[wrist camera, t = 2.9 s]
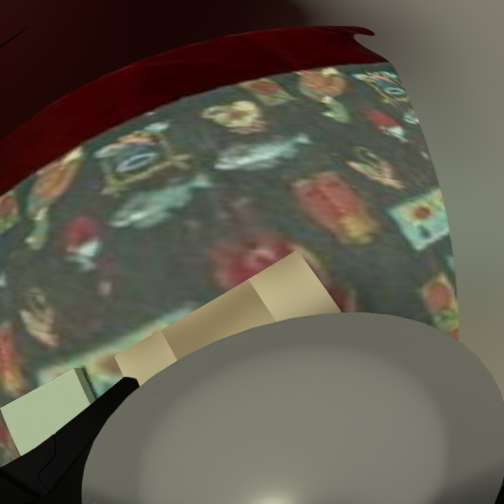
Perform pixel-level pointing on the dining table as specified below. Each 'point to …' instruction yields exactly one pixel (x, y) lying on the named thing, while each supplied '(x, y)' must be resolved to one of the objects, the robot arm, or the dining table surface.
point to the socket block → (232, 316)
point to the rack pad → (47, 409)
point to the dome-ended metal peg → (309, 420)
